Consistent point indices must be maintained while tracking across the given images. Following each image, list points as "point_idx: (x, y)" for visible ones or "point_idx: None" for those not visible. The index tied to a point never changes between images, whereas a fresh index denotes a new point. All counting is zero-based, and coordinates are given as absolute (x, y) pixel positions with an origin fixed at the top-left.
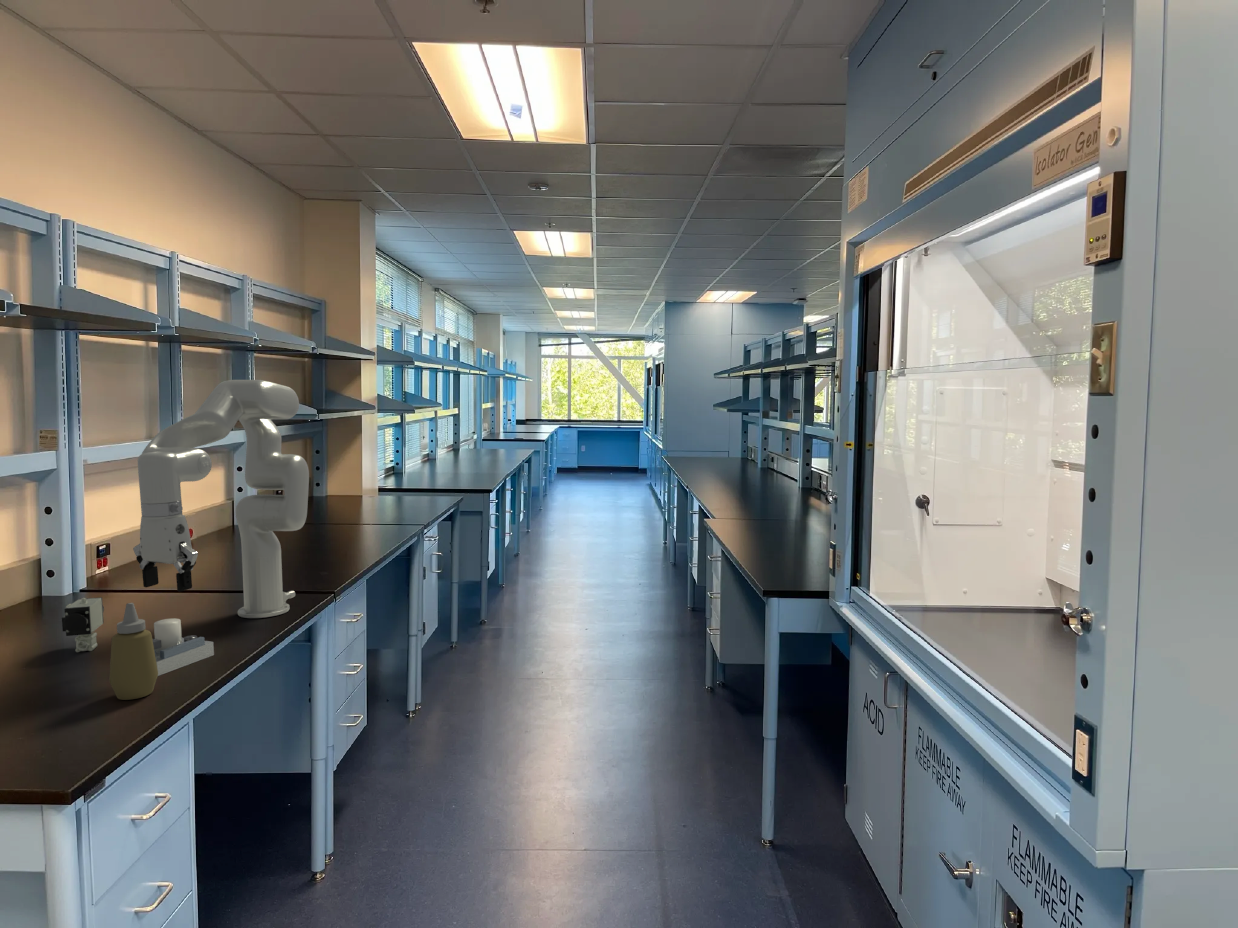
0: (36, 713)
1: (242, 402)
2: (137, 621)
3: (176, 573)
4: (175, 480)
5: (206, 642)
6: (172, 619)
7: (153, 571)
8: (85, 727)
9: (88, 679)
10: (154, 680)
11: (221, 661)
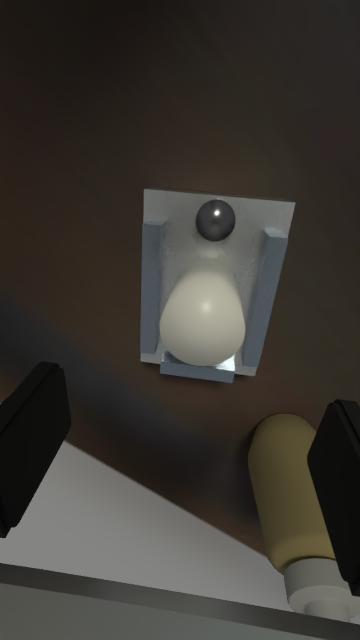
0: (190, 491)
1: None
2: (348, 610)
3: (354, 595)
4: None
5: (275, 214)
6: (196, 304)
7: (16, 462)
8: None
9: (130, 390)
10: None
11: (344, 242)
